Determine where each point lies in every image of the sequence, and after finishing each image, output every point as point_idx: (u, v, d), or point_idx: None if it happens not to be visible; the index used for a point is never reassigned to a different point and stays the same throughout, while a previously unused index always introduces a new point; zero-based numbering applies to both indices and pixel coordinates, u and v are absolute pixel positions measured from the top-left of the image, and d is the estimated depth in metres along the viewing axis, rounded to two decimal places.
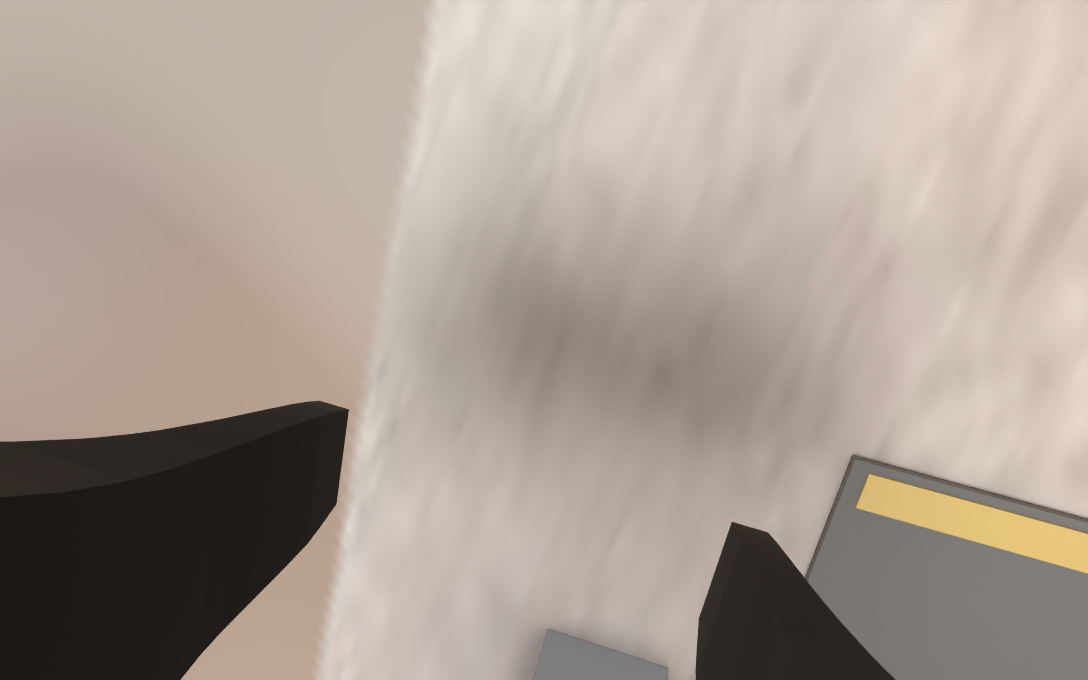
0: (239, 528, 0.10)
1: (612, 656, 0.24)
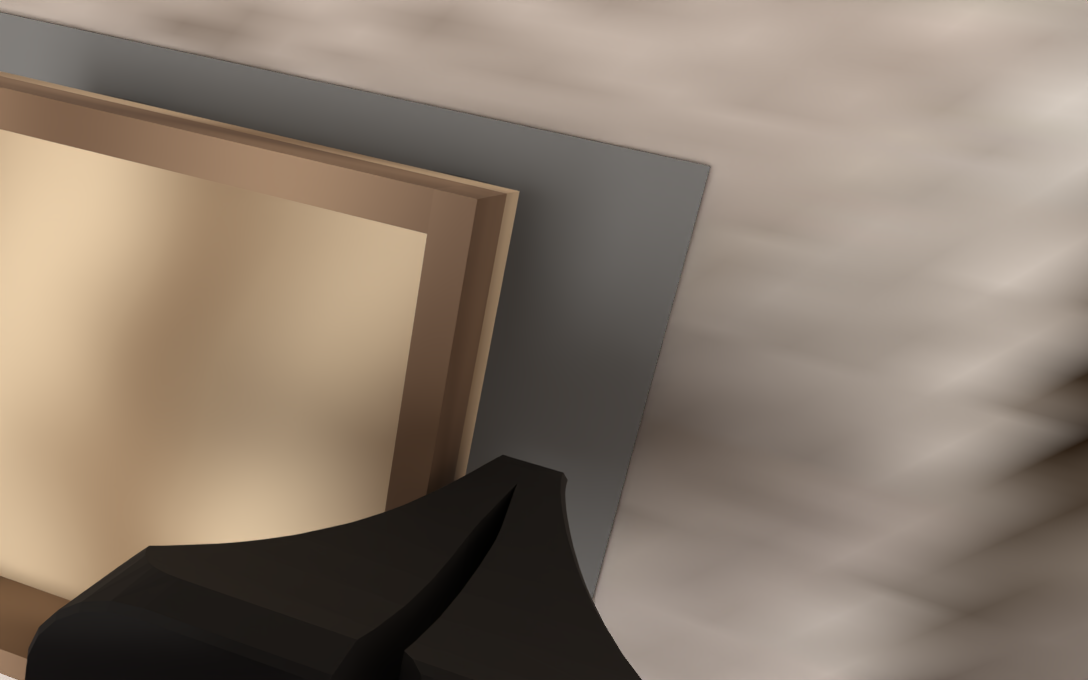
0: None
1: None
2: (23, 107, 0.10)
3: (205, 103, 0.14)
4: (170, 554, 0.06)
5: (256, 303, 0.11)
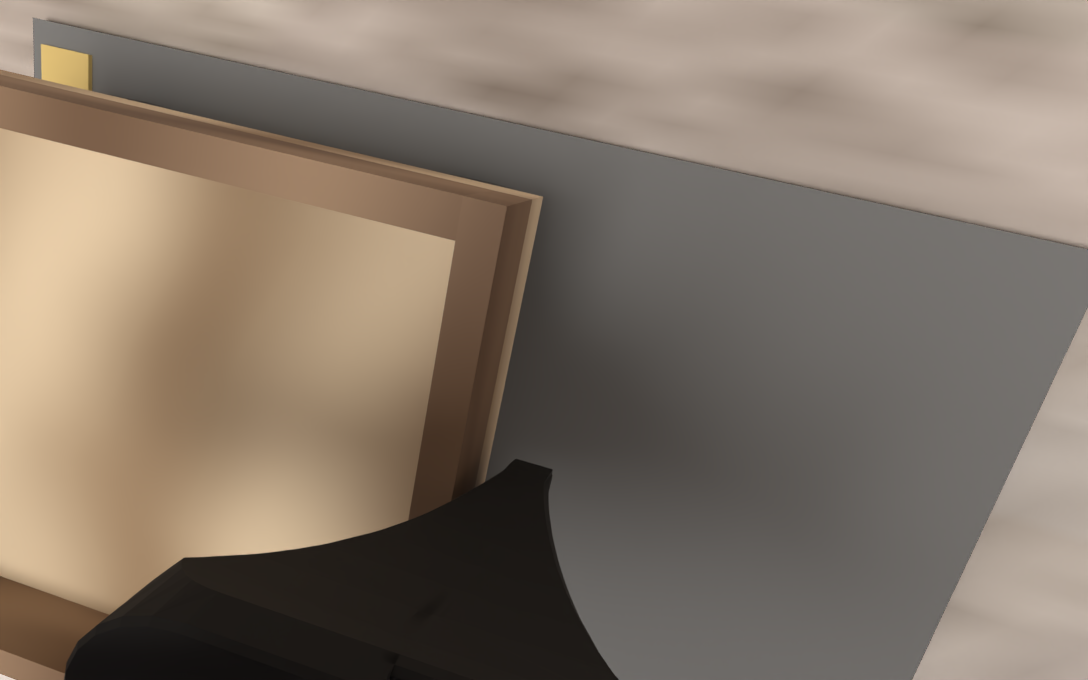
0: None
1: None
2: (45, 111, 0.10)
3: (518, 174, 0.13)
4: (206, 565, 0.06)
5: (276, 308, 0.11)
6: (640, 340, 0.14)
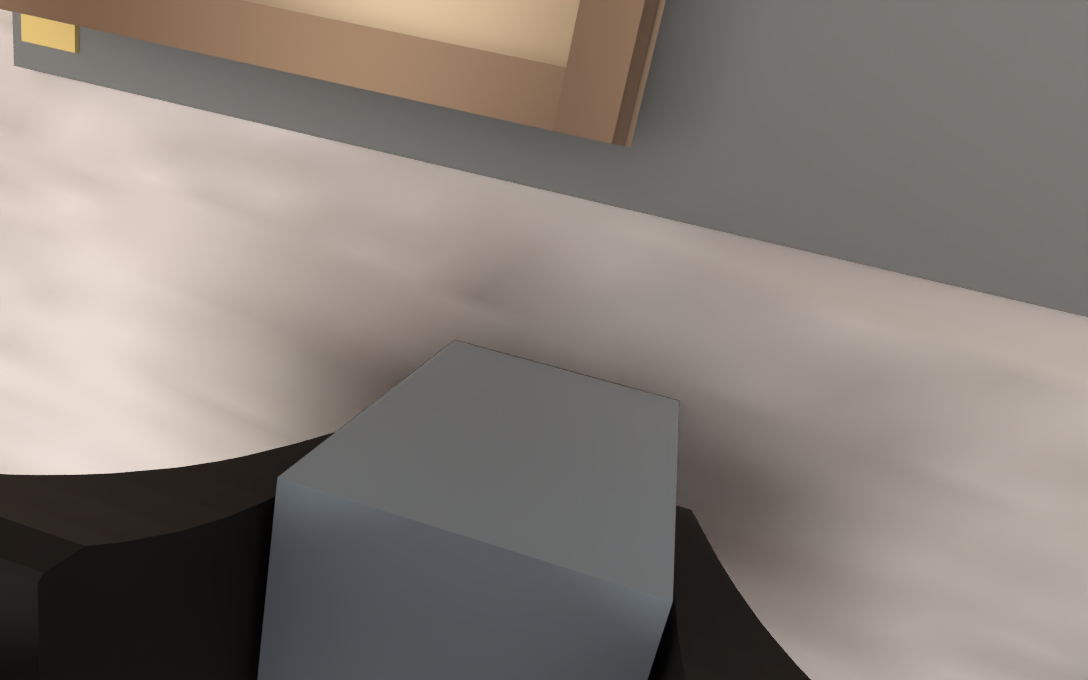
0: None
1: None
2: None
3: None
4: None
5: None
6: None
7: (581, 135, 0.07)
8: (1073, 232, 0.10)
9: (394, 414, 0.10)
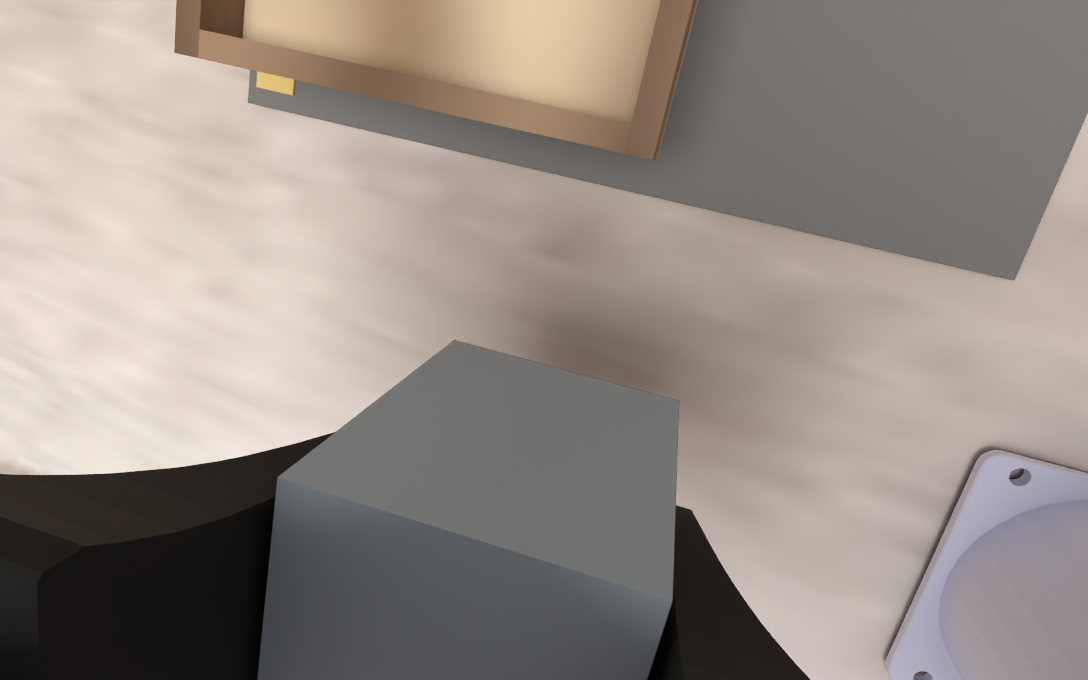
0: None
1: None
2: None
3: None
4: None
5: None
6: None
7: (637, 155, 0.14)
8: (918, 209, 0.17)
9: (394, 414, 0.10)
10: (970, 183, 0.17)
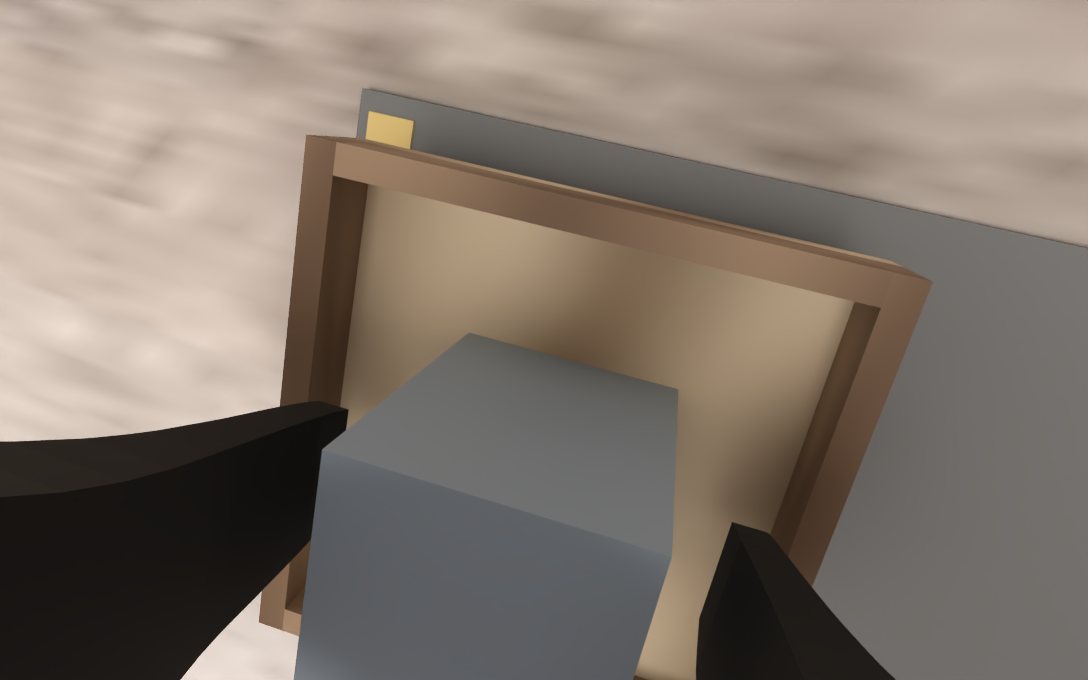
0: (239, 528, 0.10)
1: None
2: (517, 196, 0.12)
3: (808, 230, 0.15)
4: None
5: (649, 352, 0.13)
6: (907, 373, 0.16)
7: None
8: None
9: (419, 397, 0.10)
10: None
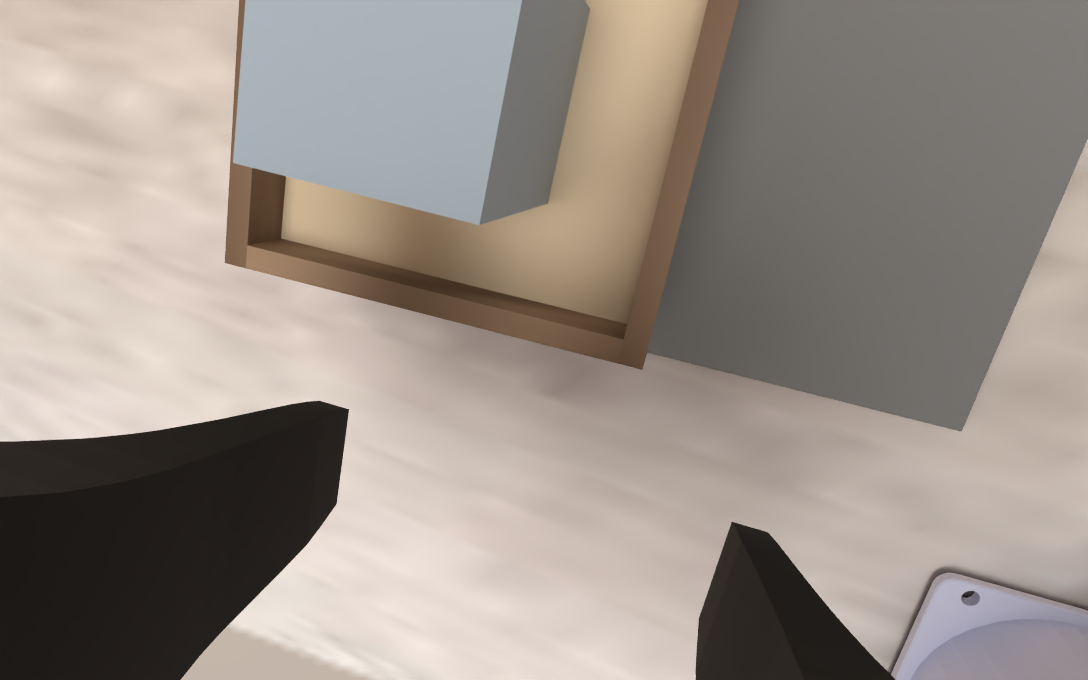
0: (239, 528, 0.10)
1: None
2: None
3: None
4: None
5: None
6: (802, 40, 0.18)
7: (629, 365, 0.16)
8: (876, 369, 0.19)
9: None
10: (921, 349, 0.19)
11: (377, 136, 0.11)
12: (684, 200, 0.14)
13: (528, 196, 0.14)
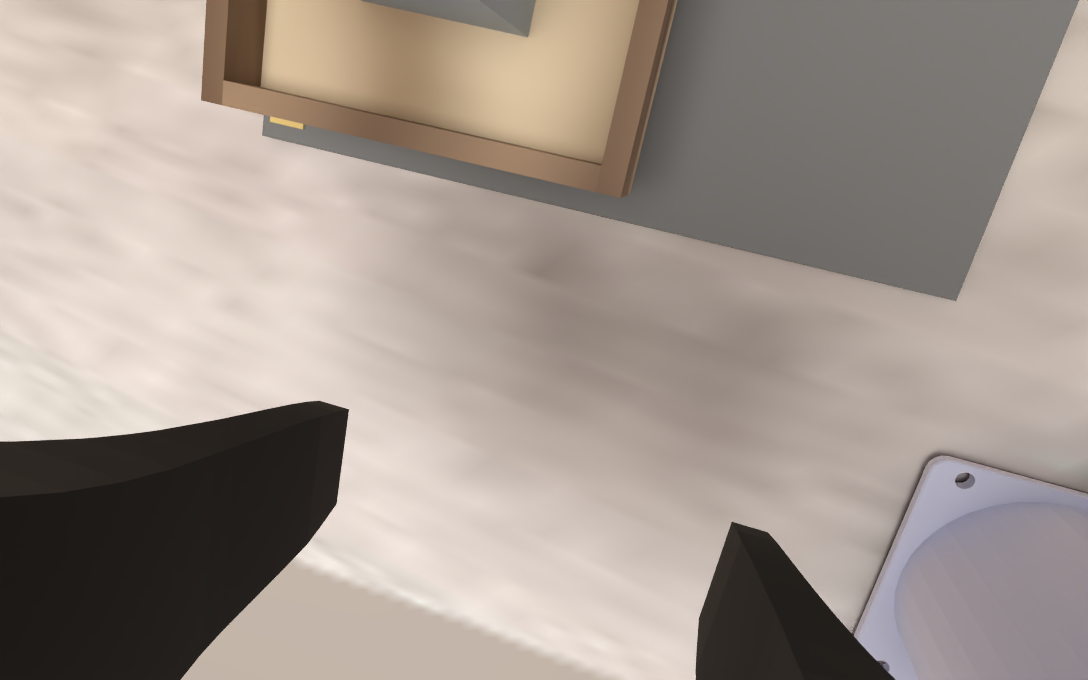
0: (239, 528, 0.10)
1: None
2: None
3: None
4: None
5: None
6: None
7: (607, 194, 0.15)
8: (868, 236, 0.19)
9: None
10: (914, 213, 0.18)
11: None
12: (663, 9, 0.14)
13: None
